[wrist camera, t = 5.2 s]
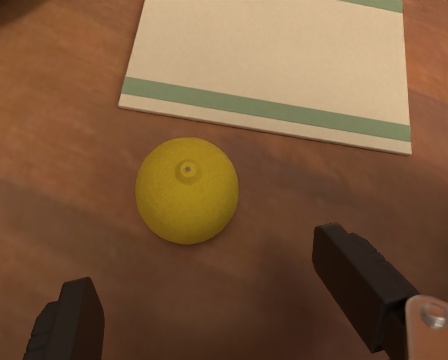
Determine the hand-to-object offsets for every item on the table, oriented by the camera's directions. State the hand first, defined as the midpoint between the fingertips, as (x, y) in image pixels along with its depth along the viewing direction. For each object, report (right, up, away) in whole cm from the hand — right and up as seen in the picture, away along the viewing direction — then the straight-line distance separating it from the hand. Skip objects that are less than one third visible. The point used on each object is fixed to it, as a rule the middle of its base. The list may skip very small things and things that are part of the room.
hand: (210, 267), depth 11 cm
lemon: (-2, +1, +10) cm, 10 cm away
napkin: (+5, +14, +14) cm, 21 cm away
